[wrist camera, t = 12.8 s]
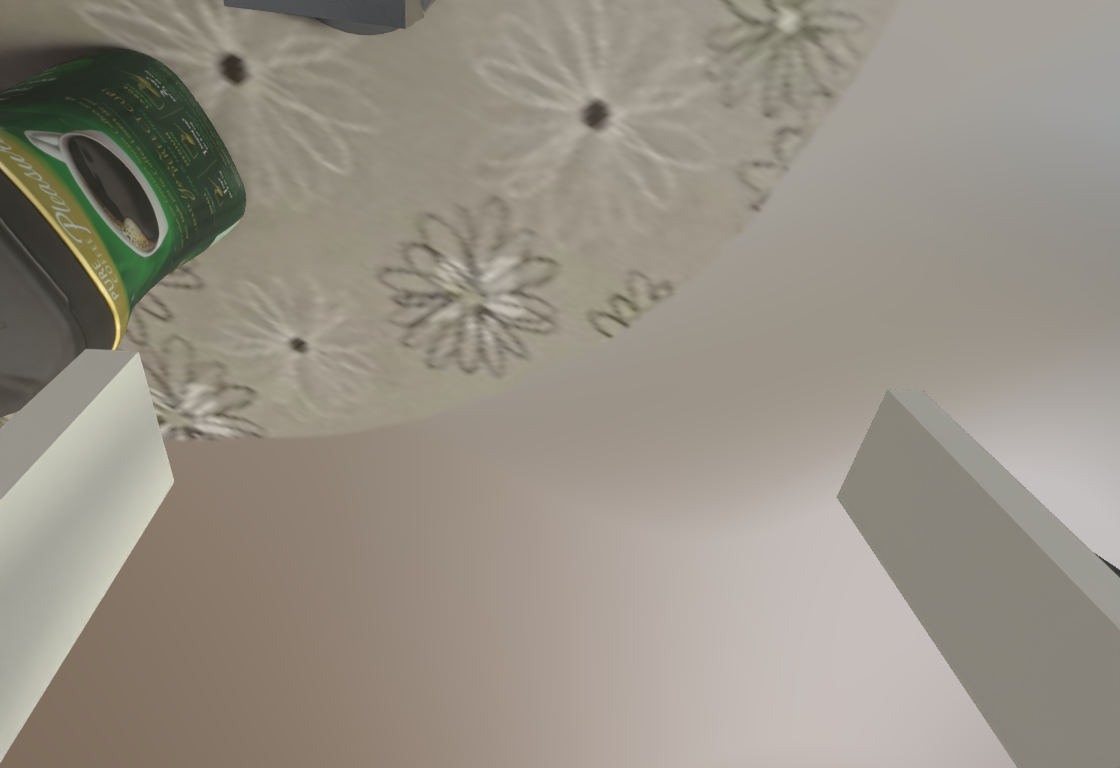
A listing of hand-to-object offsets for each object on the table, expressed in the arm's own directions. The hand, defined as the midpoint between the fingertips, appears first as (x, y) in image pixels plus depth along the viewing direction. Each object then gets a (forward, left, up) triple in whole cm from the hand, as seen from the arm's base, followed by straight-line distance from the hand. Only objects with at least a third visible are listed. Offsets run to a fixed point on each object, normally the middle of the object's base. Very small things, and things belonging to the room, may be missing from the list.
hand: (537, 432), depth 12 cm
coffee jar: (-18, -3, -27) cm, 33 cm away
